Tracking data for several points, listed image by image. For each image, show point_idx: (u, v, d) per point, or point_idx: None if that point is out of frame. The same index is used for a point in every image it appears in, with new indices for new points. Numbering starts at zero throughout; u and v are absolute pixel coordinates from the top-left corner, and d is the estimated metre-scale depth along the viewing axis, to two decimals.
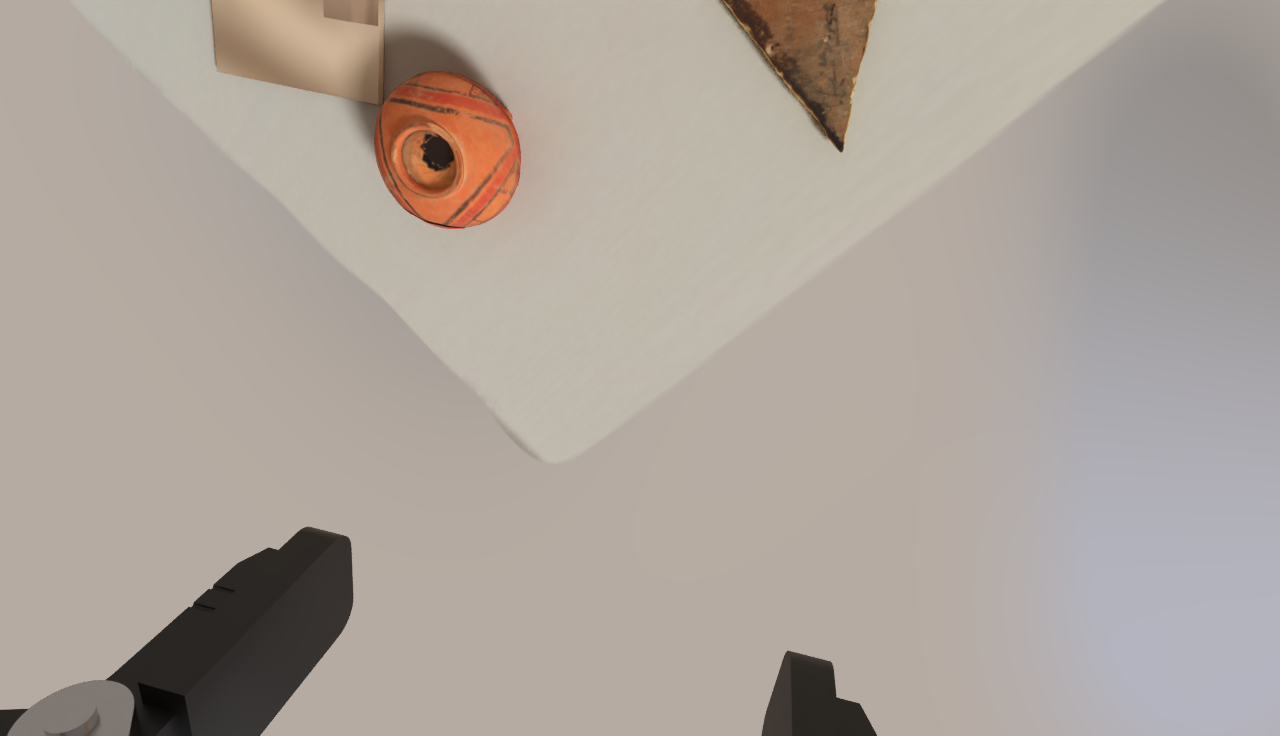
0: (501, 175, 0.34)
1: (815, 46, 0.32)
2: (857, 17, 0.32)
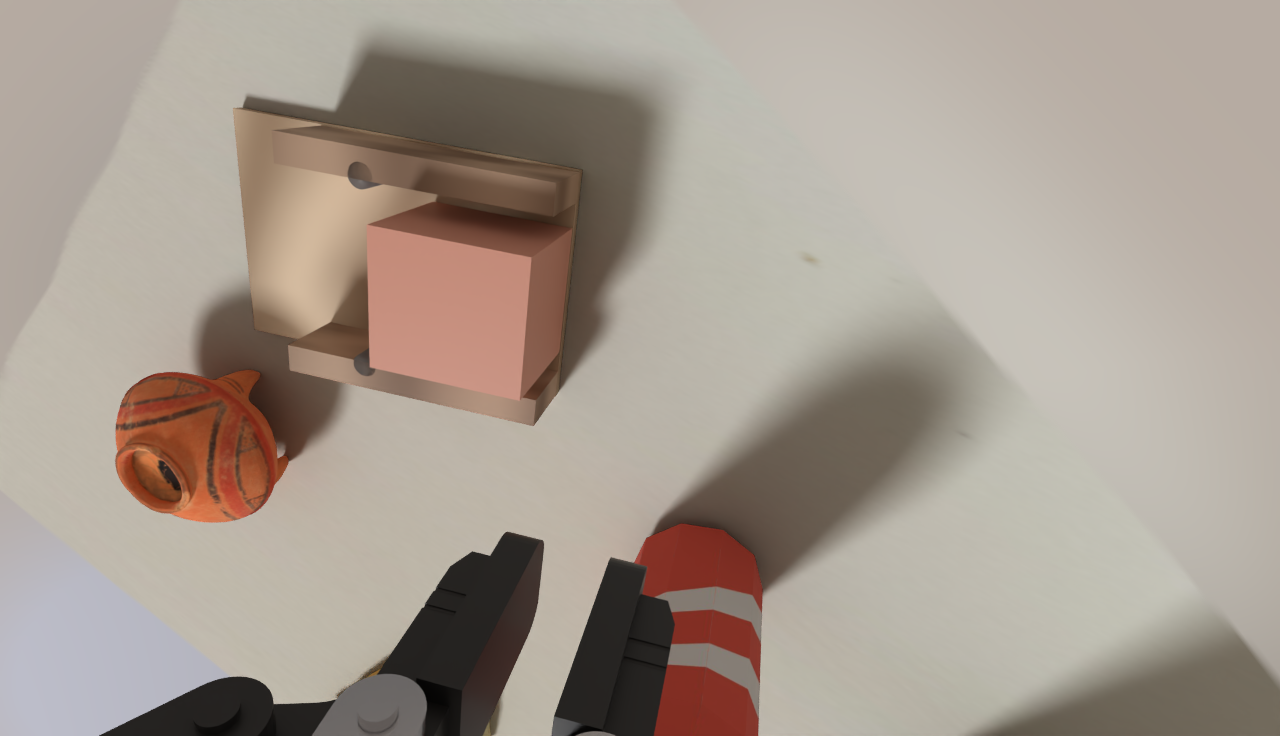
0: None
1: None
2: None
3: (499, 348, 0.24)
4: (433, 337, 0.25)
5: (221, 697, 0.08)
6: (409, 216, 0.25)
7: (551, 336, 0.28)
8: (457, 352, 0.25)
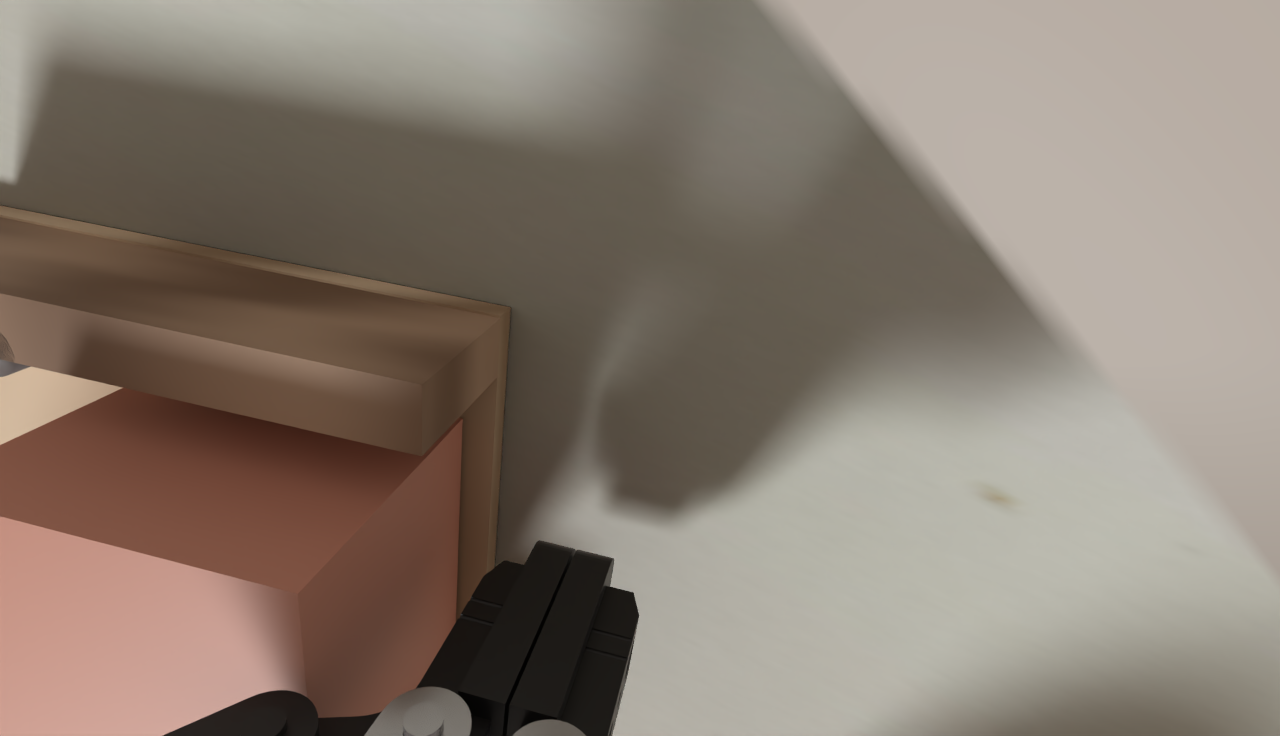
0: None
1: None
2: None
3: None
4: (114, 722, 0.11)
5: (268, 711, 0.08)
6: (74, 428, 0.11)
7: (424, 634, 0.14)
8: None
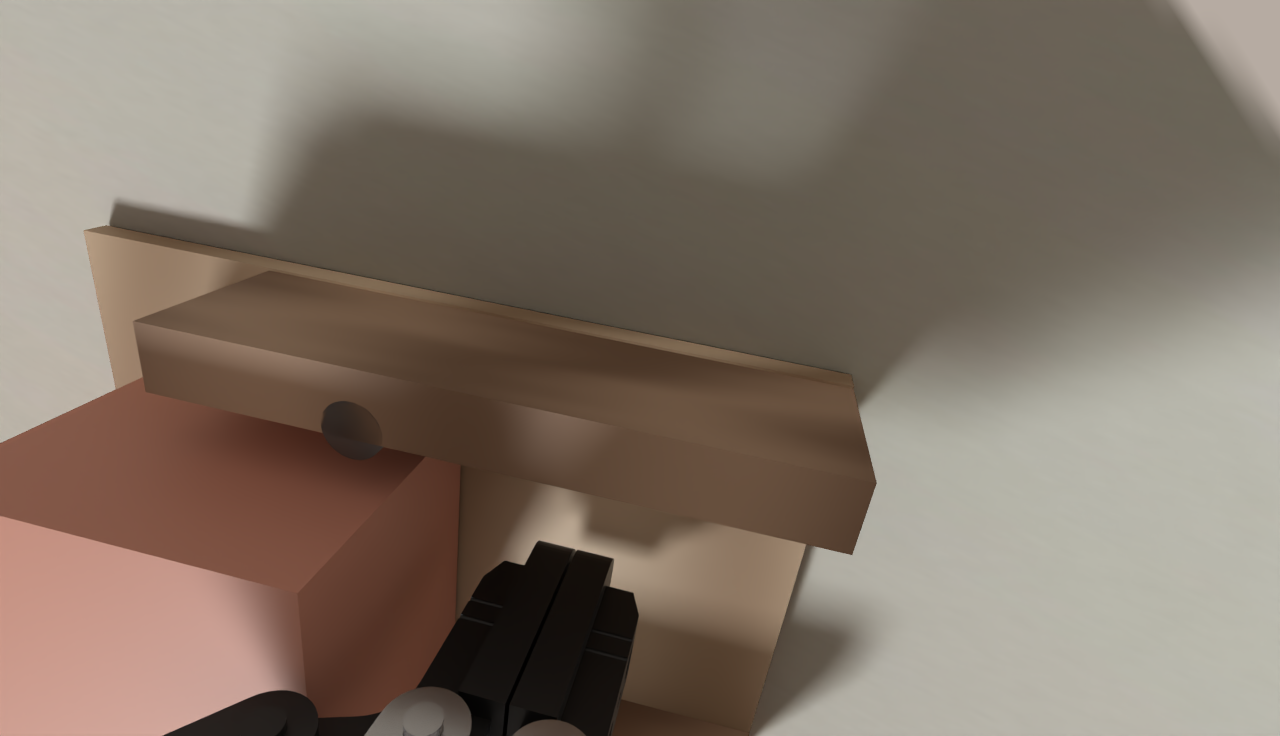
0: None
1: None
2: None
3: None
4: (113, 721, 0.11)
5: (268, 711, 0.08)
6: (73, 427, 0.11)
7: (423, 634, 0.14)
8: None
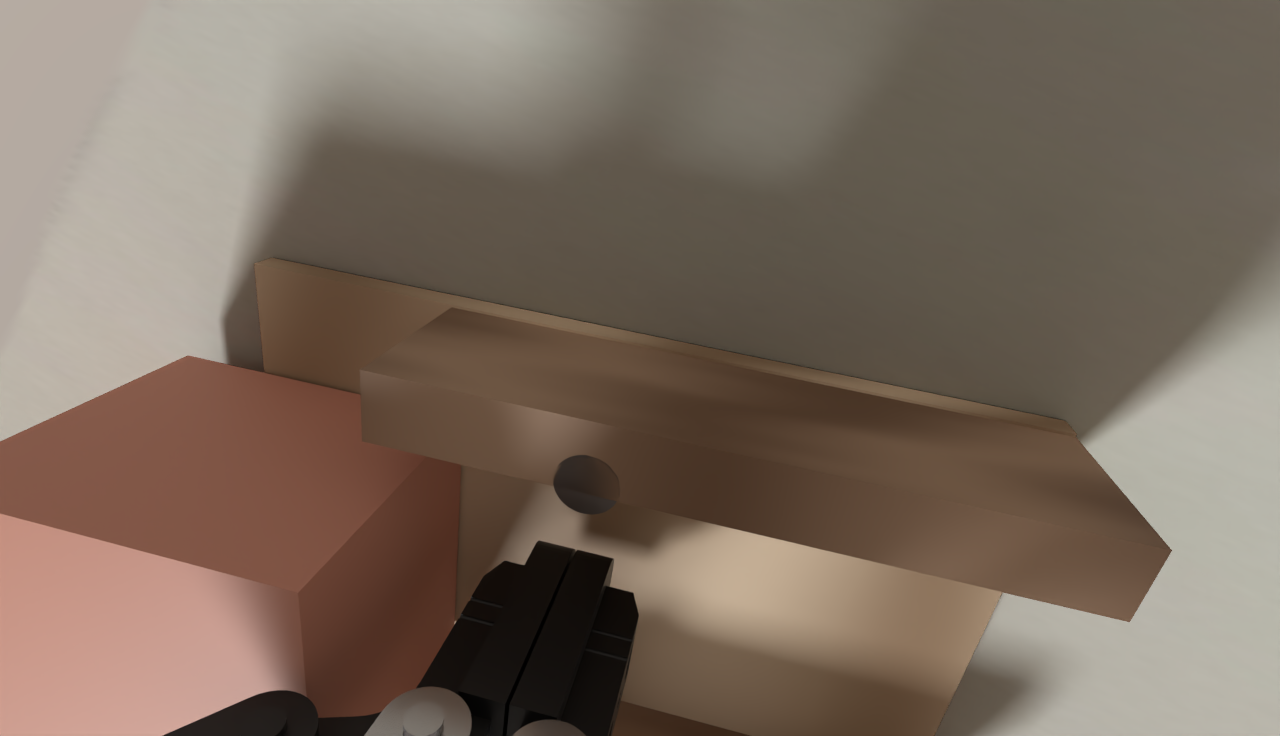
0: None
1: None
2: None
3: None
4: (112, 720, 0.11)
5: (267, 711, 0.08)
6: (74, 426, 0.11)
7: (423, 634, 0.14)
8: None
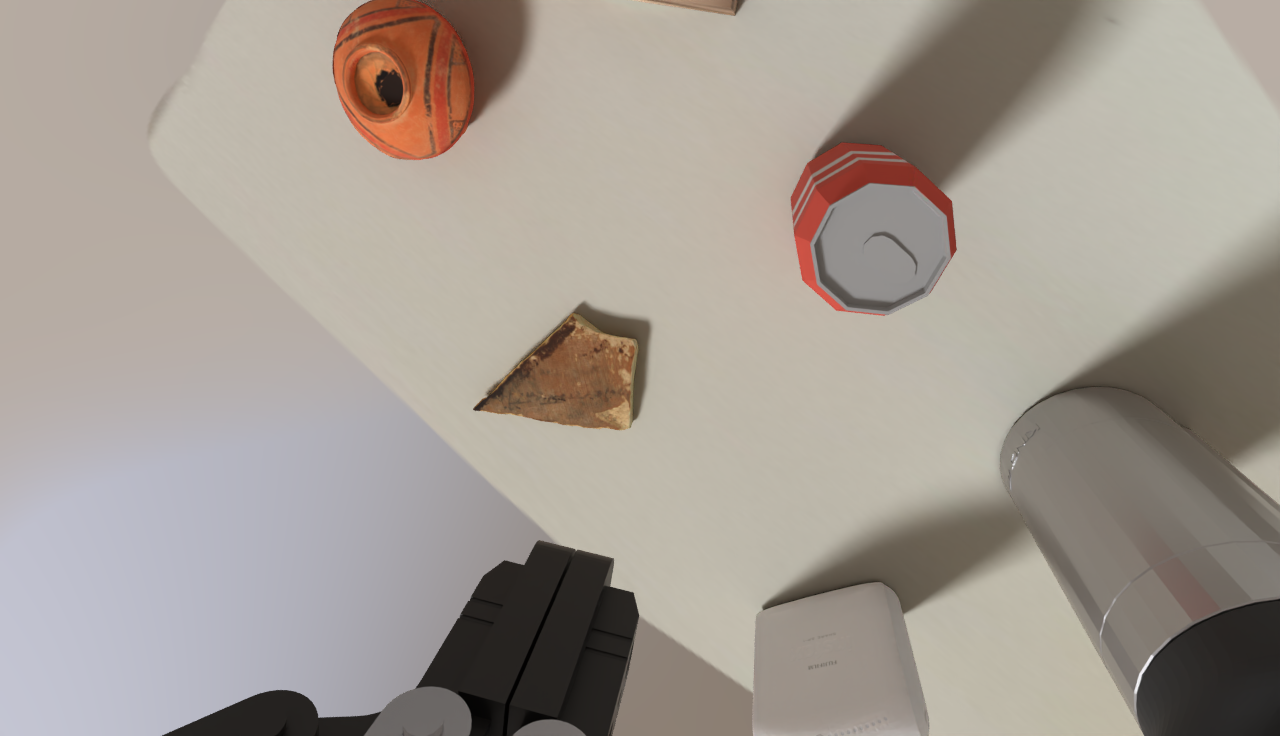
0: (388, 149, 0.36)
1: (538, 389, 0.44)
2: (558, 415, 0.44)
3: None
4: None
5: (268, 710, 0.08)
6: None
7: None
8: None
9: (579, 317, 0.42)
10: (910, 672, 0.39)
